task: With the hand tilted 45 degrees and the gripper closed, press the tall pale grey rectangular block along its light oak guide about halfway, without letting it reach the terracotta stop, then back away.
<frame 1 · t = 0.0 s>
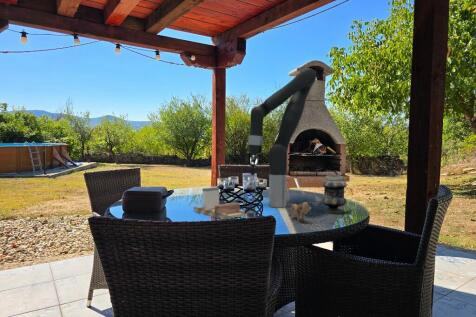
hand: (253, 174, 184), 17 cm above the table, tool pointing down, fingers open, 8 cm apart
lion figurine: (298, 220, 152), on the table
key housing: (218, 213, 164), on the table
apothecary jar: (333, 212, 169), on the table
pale grey rectangular block: (210, 198, 168), point 7 cm above the table, slide at 0.0 cm
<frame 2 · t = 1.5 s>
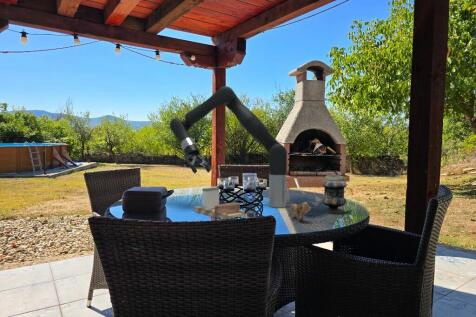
hand: (202, 171, 172), 19 cm above the table, tool tilted 45°, fingers open, 8 cm apart
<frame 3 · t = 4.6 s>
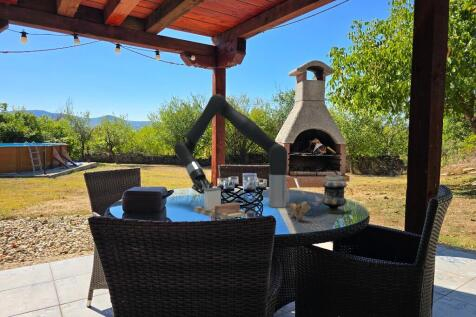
hand: (210, 198, 169), 6 cm above the table, tool tilted 45°, fingers closed
pale grey rectangular block: (212, 198, 167), point 7 cm above the table, slide at 1.3 cm, touching gripper
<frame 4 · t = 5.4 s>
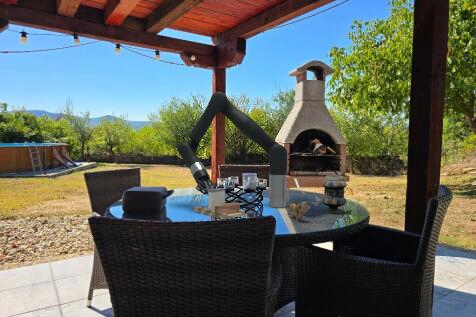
hand: (214, 199, 166), 6 cm above the table, tool tilted 45°, fingers closed
pale grey rectangular block: (216, 199, 164), point 7 cm above the table, slide at 4.6 cm, touching gripper
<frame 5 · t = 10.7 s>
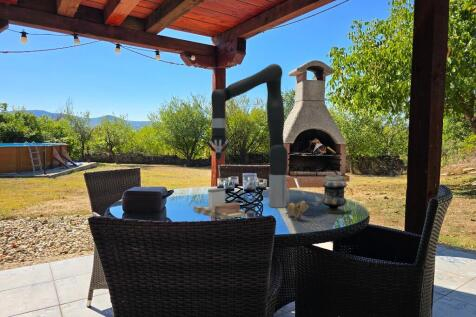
hand: (218, 159, 184), 25 cm above the table, tool pointing down, fingers closed
lion figurine: (296, 219, 155), on the table
pale grey rectangular block: (216, 199, 164), point 7 cm above the table, slide at 4.6 cm
everything else where it was.
at the end: pale grey rectangular block slide at 4.6 cm; lion figurine moved 3.0 cm from its start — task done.
